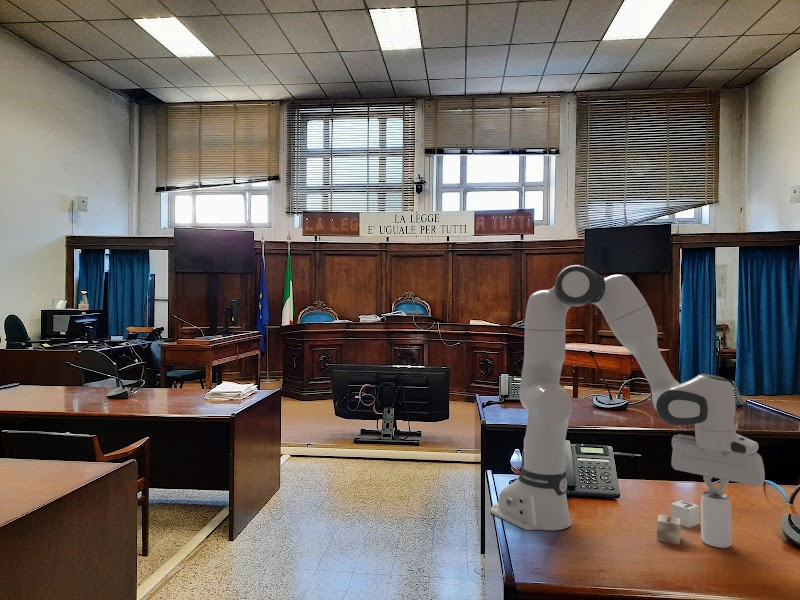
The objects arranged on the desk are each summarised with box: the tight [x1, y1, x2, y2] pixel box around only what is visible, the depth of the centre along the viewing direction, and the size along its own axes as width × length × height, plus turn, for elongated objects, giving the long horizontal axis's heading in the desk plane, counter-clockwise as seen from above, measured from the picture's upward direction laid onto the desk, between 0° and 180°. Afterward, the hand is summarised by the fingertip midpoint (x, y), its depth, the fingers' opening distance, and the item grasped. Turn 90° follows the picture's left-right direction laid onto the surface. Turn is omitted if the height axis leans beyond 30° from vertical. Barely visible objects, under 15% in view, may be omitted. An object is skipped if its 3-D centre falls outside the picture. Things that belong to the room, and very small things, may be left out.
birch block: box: [656, 514, 682, 546], centre depth 135 cm, size 5×5×5 cm
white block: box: [670, 499, 700, 529], centre depth 145 cm, size 5×5×5 cm
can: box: [700, 490, 732, 549], centre depth 133 cm, size 6×6×12 cm
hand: (716, 495), depth 133 cm, fingers closed, pressing on can
